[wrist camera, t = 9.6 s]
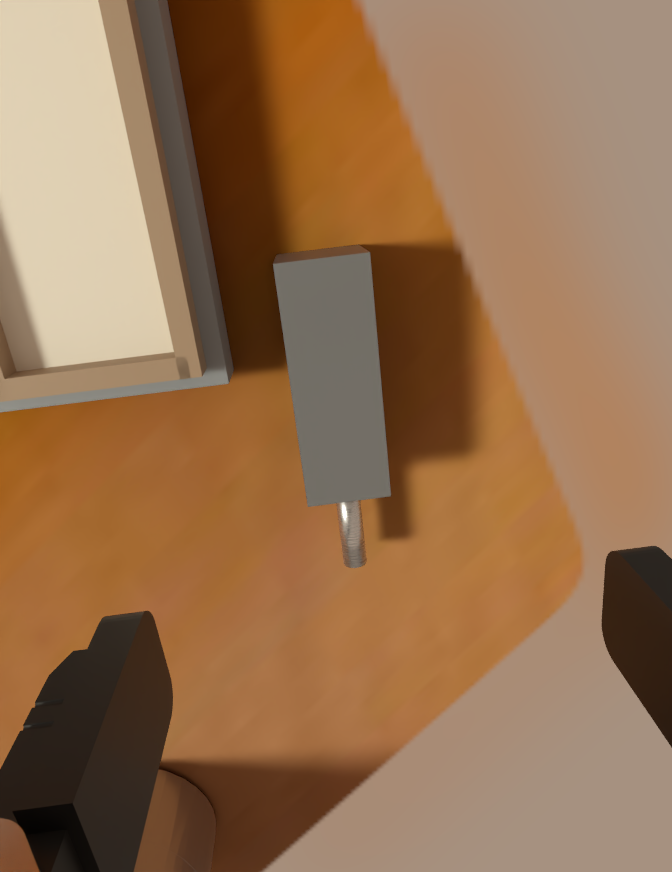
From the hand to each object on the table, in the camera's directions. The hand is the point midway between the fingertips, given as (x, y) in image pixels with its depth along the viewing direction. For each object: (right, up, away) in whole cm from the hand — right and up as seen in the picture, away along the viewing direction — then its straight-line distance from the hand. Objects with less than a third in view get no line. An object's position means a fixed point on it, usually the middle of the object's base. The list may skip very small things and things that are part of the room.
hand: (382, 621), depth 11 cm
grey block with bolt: (-1, +5, +15) cm, 16 cm away
